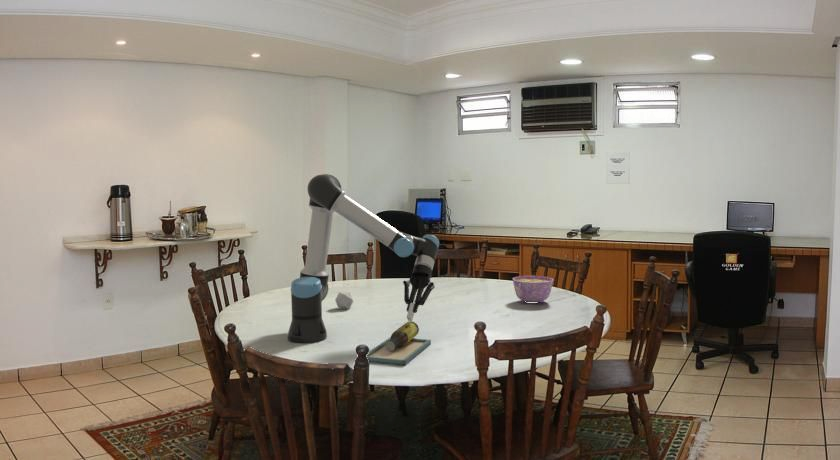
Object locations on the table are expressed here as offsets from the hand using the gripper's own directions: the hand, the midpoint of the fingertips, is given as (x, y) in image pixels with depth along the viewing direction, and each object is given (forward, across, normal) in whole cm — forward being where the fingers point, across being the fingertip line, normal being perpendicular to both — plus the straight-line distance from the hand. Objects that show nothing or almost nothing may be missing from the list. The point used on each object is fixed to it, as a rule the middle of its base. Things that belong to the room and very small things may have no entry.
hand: (409, 319), depth 245 cm
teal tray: (+16, 0, +2) cm, 16 cm away
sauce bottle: (+1, 0, -6) cm, 6 cm away
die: (-28, +51, -42) cm, 71 cm away
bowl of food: (-57, -32, -70) cm, 96 cm away
